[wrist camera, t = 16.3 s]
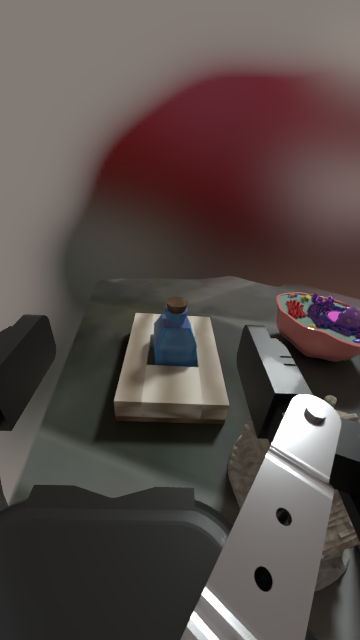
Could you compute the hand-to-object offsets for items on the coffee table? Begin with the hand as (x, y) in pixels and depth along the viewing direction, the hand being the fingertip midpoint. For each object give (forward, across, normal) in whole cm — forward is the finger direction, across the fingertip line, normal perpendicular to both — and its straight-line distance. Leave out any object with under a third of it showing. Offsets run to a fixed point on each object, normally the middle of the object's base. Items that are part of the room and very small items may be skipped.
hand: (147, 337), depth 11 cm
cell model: (+32, -31, +26) cm, 51 cm away
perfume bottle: (+24, -2, +24) cm, 34 cm away
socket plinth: (+24, -2, +25) cm, 34 cm away
